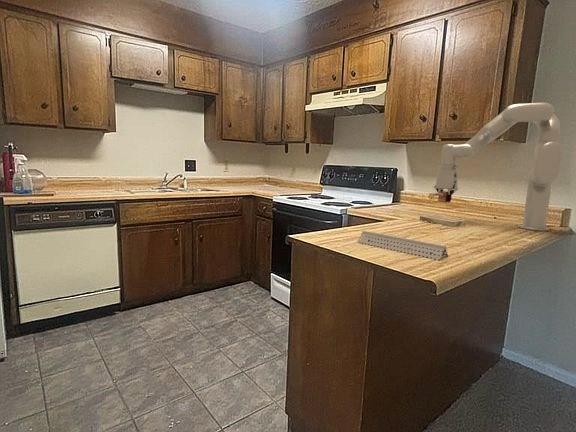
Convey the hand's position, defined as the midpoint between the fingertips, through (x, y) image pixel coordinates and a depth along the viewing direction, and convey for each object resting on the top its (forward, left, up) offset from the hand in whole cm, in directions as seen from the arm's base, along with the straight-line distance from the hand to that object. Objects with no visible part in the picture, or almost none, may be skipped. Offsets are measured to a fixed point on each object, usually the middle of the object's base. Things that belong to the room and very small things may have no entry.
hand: (444, 201), depth 193 cm
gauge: (+5, 0, 0) cm, 5 cm away
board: (+8, +5, -11) cm, 15 cm away
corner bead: (+76, +36, -12) cm, 85 cm away
